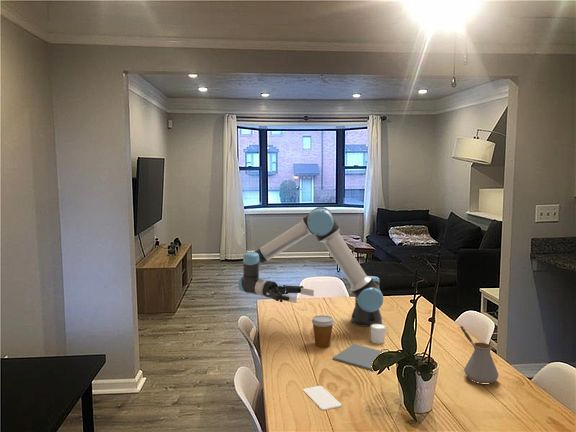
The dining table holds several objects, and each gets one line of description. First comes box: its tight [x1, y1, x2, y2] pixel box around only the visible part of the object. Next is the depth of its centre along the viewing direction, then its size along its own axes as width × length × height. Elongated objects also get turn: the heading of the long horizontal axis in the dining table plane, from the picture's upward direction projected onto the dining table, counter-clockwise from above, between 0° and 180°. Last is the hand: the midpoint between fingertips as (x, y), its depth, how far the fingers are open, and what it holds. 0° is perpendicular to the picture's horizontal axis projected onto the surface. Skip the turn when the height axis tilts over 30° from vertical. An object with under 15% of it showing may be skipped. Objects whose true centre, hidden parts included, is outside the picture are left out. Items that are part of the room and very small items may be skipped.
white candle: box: [369, 323, 387, 345], centre depth 202 cm, size 7×7×7 cm
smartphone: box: [303, 385, 342, 411], centre depth 152 cm, size 7×1×15 cm
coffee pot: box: [457, 325, 499, 384], centre depth 170 cm, size 21×12×15 cm, turn 8°
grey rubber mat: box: [332, 343, 385, 371], centre depth 184 cm, size 18×18×1 cm
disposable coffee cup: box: [311, 314, 335, 349], centre depth 196 cm, size 10×10×12 cm
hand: (304, 296), depth 200 cm, fingers open, 13 cm apart
